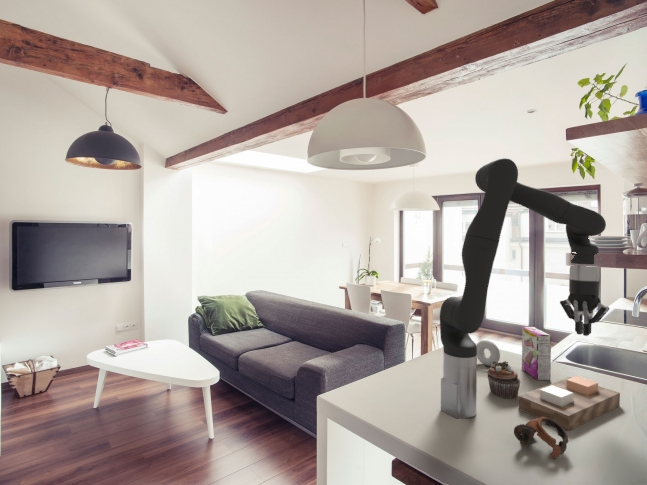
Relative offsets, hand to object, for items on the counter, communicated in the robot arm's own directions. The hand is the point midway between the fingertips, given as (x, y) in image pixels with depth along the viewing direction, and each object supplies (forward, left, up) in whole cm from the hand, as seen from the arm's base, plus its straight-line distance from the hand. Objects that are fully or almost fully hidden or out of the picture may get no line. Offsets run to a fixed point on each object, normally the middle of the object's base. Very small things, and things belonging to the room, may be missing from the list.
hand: (583, 334), depth 115 cm
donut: (+2, +35, -21) cm, 41 cm away
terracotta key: (0, 0, -18) cm, 18 cm away
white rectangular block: (-14, 0, -18) cm, 22 cm away
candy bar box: (+9, +20, -21) cm, 31 cm away
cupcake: (-15, +16, -21) cm, 31 cm away
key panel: (-7, 0, -21) cm, 22 cm away
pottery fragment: (-36, -7, -21) cm, 42 cm away
